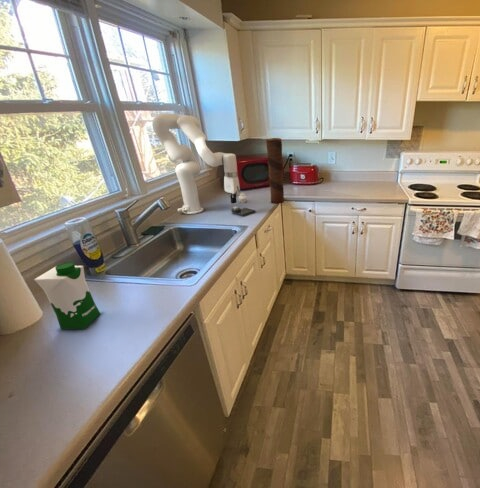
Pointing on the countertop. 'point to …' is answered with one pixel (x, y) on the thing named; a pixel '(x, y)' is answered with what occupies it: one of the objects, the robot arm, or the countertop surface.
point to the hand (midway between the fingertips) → (233, 202)
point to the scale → (242, 211)
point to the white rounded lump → (242, 198)
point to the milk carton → (69, 296)
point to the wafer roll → (275, 169)
